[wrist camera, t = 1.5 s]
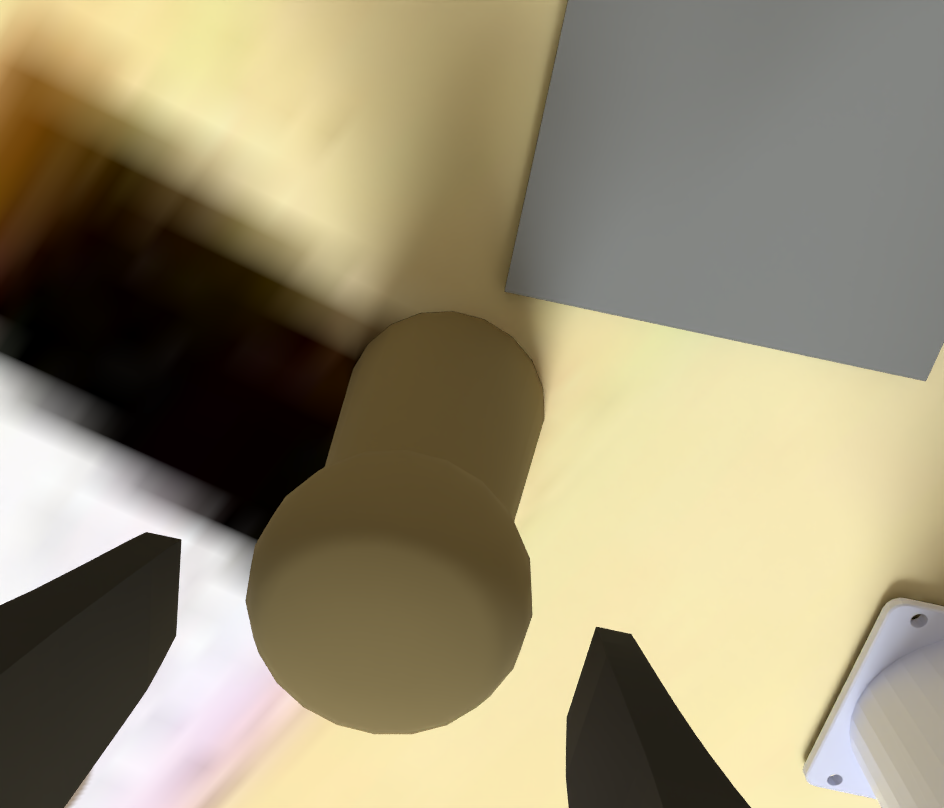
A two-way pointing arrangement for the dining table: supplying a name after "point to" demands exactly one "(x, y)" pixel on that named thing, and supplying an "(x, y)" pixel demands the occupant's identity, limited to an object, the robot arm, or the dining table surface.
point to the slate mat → (747, 174)
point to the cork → (407, 535)
